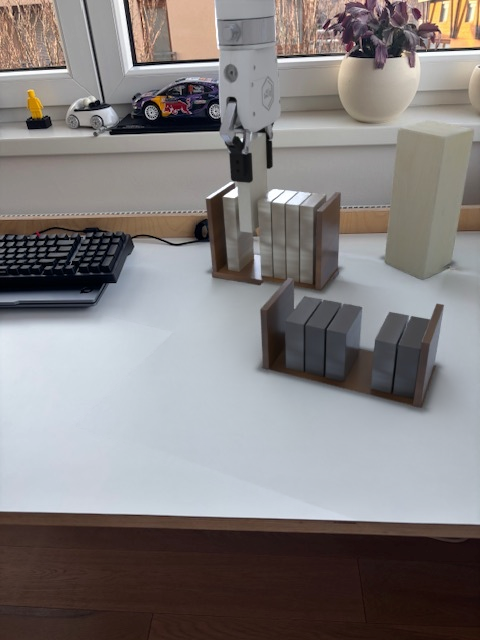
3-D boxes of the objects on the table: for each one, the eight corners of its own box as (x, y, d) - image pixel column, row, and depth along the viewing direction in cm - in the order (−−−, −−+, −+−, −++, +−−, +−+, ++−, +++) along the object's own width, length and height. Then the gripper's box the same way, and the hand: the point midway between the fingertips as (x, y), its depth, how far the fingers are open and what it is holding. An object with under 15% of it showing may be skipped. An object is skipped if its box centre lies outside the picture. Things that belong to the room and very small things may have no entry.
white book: (268, 218, 85) (265, 132, 78) (251, 233, 80) (247, 143, 73) (257, 217, 85) (253, 132, 79) (239, 231, 81) (234, 142, 74)
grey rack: (435, 372, 63) (446, 304, 58) (421, 415, 57) (432, 344, 52) (287, 339, 70) (286, 277, 65) (261, 374, 64) (258, 309, 59)
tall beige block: (455, 266, 84) (478, 126, 73) (423, 281, 81) (443, 136, 70) (414, 250, 90) (430, 118, 79) (383, 263, 87) (395, 127, 76)
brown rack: (339, 273, 85) (342, 192, 78) (321, 296, 79) (323, 211, 72) (234, 256, 92) (229, 181, 86) (211, 276, 87) (204, 198, 80)
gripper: (242, 41, 61) (249, 196, 71) (298, 27, 74) (298, 160, 84) (185, 42, 64) (200, 190, 74) (249, 28, 77) (254, 156, 87)
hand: (252, 173), depth 79 cm, fingers closed on white book, 6 cm apart
